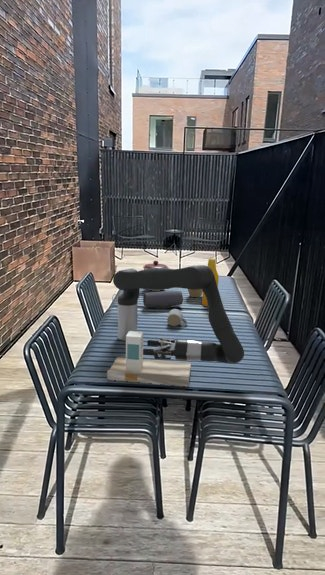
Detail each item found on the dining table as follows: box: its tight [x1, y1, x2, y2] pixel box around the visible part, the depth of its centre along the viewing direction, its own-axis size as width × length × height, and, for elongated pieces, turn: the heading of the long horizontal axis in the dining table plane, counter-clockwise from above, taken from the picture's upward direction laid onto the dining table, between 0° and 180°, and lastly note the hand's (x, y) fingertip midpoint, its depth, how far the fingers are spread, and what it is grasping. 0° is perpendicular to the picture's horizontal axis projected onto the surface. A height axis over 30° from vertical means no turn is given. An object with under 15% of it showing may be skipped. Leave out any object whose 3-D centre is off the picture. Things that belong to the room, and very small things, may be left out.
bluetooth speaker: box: [142, 290, 184, 309], centre depth 235 cm, size 23×9×10 cm, turn 108°
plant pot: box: [187, 289, 203, 298], centre depth 261 cm, size 15×15×16 cm
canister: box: [142, 260, 169, 292], centre depth 275 cm, size 18×18×21 cm
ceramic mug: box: [166, 308, 188, 328], centre depth 205 cm, size 11×8×8 cm
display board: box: [106, 356, 192, 388], centre depth 149 cm, size 15×30×4 cm, turn 82°
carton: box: [125, 331, 144, 372], centre depth 147 cm, size 6×6×14 cm
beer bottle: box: [201, 258, 220, 307], centre depth 240 cm, size 9×9×29 cm
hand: (145, 347), depth 146 cm, fingers open, 8 cm apart
